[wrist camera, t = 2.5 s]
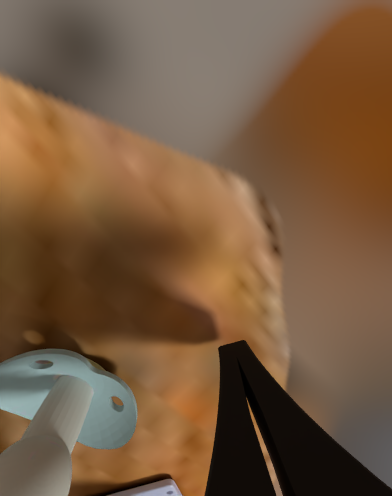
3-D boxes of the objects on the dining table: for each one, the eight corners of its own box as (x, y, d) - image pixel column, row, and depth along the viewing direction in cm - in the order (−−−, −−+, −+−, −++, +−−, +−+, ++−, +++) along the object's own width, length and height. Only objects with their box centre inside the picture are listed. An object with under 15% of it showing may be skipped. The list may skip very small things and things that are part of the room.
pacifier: (96, 425, 13) (156, 378, 12) (25, 632, 7) (132, 578, 6) (-15, 376, 11) (45, 311, 10) (-247, 613, 5) (-166, 523, 4)
